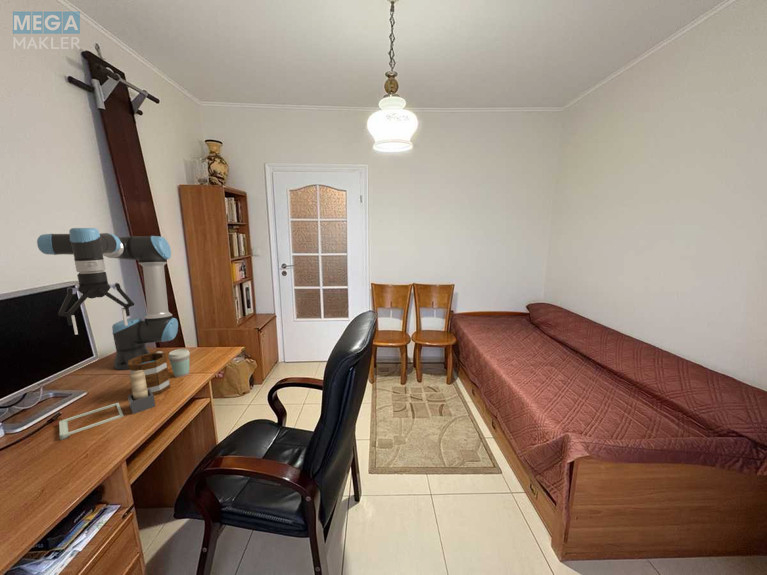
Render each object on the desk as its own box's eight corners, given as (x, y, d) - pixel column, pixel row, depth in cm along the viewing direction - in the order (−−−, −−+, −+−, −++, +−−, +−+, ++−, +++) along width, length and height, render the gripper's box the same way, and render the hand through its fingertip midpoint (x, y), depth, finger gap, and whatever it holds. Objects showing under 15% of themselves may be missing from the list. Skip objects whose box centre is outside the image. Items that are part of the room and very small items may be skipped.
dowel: (134, 406, 117) (128, 372, 114) (148, 402, 120) (142, 369, 118) (136, 411, 114) (130, 376, 111) (150, 406, 117) (145, 372, 115)
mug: (164, 397, 125) (159, 363, 122) (125, 402, 121) (119, 367, 118) (181, 375, 143) (177, 345, 141) (148, 379, 140) (143, 348, 137)
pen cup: (130, 408, 117) (127, 395, 116) (151, 401, 122) (149, 388, 121) (133, 415, 113) (130, 402, 112) (155, 408, 117) (153, 395, 116)
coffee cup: (196, 371, 147) (193, 348, 145) (183, 380, 139) (180, 355, 137) (180, 371, 148) (177, 347, 146) (166, 379, 140) (162, 355, 138)
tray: (60, 424, 108) (59, 421, 108) (118, 405, 119) (118, 402, 119) (60, 440, 100) (59, 436, 100) (123, 418, 111) (123, 414, 111)
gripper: (39, 277, 97) (53, 340, 101) (137, 269, 115) (146, 323, 119) (39, 274, 102) (52, 335, 106) (134, 267, 120) (142, 319, 124)
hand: (102, 329), depth 112 cm, fingers open, 13 cm apart
